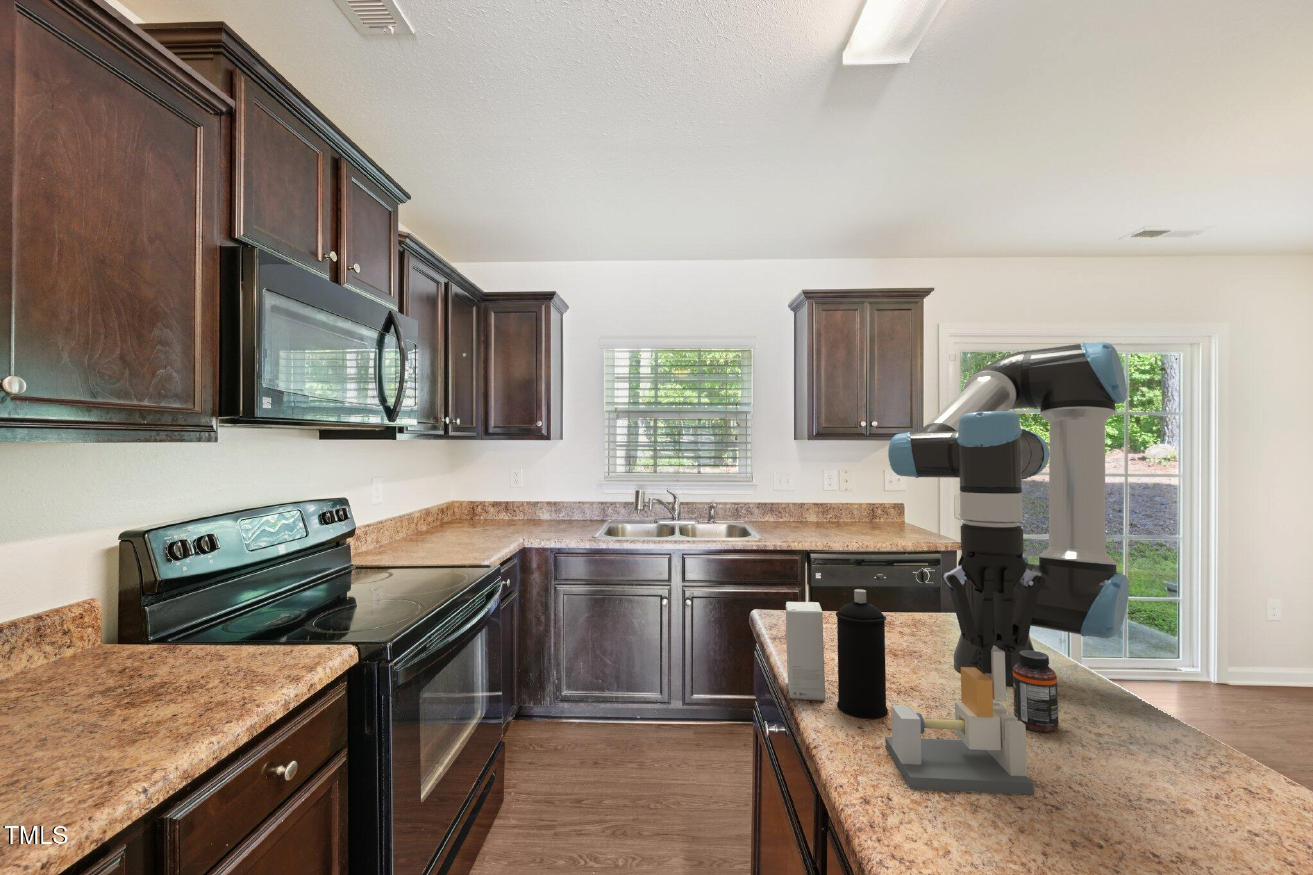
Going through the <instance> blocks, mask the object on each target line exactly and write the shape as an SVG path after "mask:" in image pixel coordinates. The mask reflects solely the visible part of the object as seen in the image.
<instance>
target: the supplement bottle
mask: <svg viewBox="0 0 1313 875" xmlns="http://www.w3.org/2000/svg"><path fill="white" fill-rule="evenodd" d="M1019 660H1020V661H1019V662H1018V663H1017V664H1016V665H1014V667H1013V685H1012V686H1013V707H1014V708H1013V712H1014V713H1013V715H1014V716H1015V717H1017V719H1018V721H1021V722H1022V723H1024V724H1025V725H1026V730H1029V731H1034V732H1039V733H1045V734H1047V733H1053V732H1055V731H1057V730H1058V729H1059V698H1058V677H1057V673H1056V671H1055V670H1054V669H1052V668H1051V667H1050V666H1049V665H1050V659H1049V655H1048V654H1046V653H1045V652H1041V651H1036V650H1035V651H1032V650H1023V651H1020V652H1019Z"/></svg>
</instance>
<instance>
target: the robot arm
mask: <svg viewBox="0 0 1313 875" xmlns="http://www.w3.org/2000/svg"><path fill="white" fill-rule="evenodd" d="M1126 381H1127V380H1126V377H1125V373H1124V368H1123V364H1122V362H1121V358H1120V356H1119V353H1118V351H1117V350H1116V348H1115V347H1114V346H1113V344H1111V343H1109V342H1106V341H1101V342H1089V343H1085V342H1080V343H1076V344H1069V345H1064V346H1063V345H1061V346H1055V347H1048V348H1039V349H1032V350H1022V351H1017V352H1013V353H1011V354H1007V355H1006V356H1003V357H1001V358H998V359H996V360H994V361H993V362H990V363H988V364H987V365H985V366H983V367H982V368H980V369H978V370H977V371H976V372H975V373H973V375H972V376H970V377H969V378H968V379H967V381H966V382H965V384H964V386H963V389H962V391H961V392H960V393H959V394H958V395H957V396H956V397H954V399H953V400H951V401H950V402H949V403H948V404H947V405H946V406H945V407H944V408H943V409H941V410H940V412H938V413H937V414H936V415H935V416H934V417H933V418H932V419H930V421H928V422H927V423H926V424H925V425H924V426H923V427H922V428H921V429H920V430H919V431H917V432H912V431H908V432H903V433H902V432H901V433H897V434H895V435H894V436H893V437H892V438H891V440H890V442H889V445H888V452H887V456H888V462H889V466H890V468H891V470H892V471H893V472H894V473H895V474H896V475H897V476H900V477H907V478H908V477H909V478H910V477H911V478H912V477H913V478H915V479H919V478H942V479H943V478H950V479H951V478H952V479H953V478H959V509H960V515H959V516H960V519H961V520H963V521H964V522H963V523H962V524H961V526H960V549H961V555H960V558H959V560H958V561H957V562H958V563H957V566H956V567H955V568H954V569H952V570H950V571H949V572H948V571H944V572H942V573H941V578H942V580H943V582H944V583H945V585H946V586H947V587H948V589H949V593H950V596H951V599H952V604H953V608H954V611H955V614H956V619H957V621H958V622H957V623H958V627H959V629H960V635H959V638H958V641H957V644H956V646H955V649H954V653H953V667H954V669H955V670H956V671H957V672H959V673H961V667H975V668H977V669H978V670H979V671H980V672H982V673H983V674H984V675H986V676H987V677H988V678H989V679H991V680H992V692H993V700H994V701H998V702H1007V689H1006V688H1007V686H1013V667H1014V665H1016V664H1017V663H1018V662H1019V661H1020V660H1019V652H1020V651H1023V650H1032V651H1036V650H1035V648H1034V645H1033V643H1032V640H1031V638H1030V637H1031V635H1030V630H1031V627H1035V628H1042V629H1045V630H1046V629H1048V630H1053V631H1058V632H1064V633H1069V634H1075V635H1080V636H1081V637H1091V638H1099V639H1111V638H1114V637H1115V636H1117V634H1118V633H1119V632H1120V630H1121V628H1122V626H1123V623H1124V620H1125V617H1126V613H1127V607H1128V601H1129V593H1130V592H1129V590H1130V589H1129V578H1128V576H1127V575H1125V574H1123V573H1121V572H1117V562H1116V561H1115V560H1114V559H1113V558H1112V557H1111V556H1109V554H1107V551H1106V543H1107V542H1106V536H1107V535H1106V423H1107V421H1108V420H1109V419H1111V418H1112V417H1113V416H1114V415H1115V414H1116V404H1117V405H1119V404H1121V403H1125V402H1126V401H1127V398H1128V397H1127V383H1126ZM1030 408H1031V409H1035V408H1036V409H1038V408H1039V409H1040V412H1039V413H1040V416H1041V417H1042V418H1043V419H1045V421H1047V422H1048V424H1049V441H1048V444H1049V446H1048V444H1047V442H1046V441H1045V440H1044V439H1043V437H1042V436H1040V435H1039V434H1037V433H1035V432H1032V431H1031V430H1027V429H1026V428H1022V427H1021V422H1020V421H1021V420H1020V416H1019V414H1018V413H1016V412H1014V411H1010V410H1017V409H1018V410H1019V409H1030ZM1048 462H1049V464H1048ZM1047 465H1049V466H1048V467H1049V468H1048V470H1049V472H1048V473H1049V474H1048V487H1049V488H1048V547H1047V548H1046V549H1045V550H1044V551H1043V552H1041V553H1040V554H1039V555H1038V556H1039V557H1038V558H1039V559H1038V564H1034V563H1029V559H1028V557H1027V555H1025V554H1024V549H1025V548H1024V528H1022V527H1021V526H1020V525H1019V524H1020V523H1022V522H1024V515H1023V513H1024V512H1023V488H1022V485H1023V484H1022V480H1027V479H1028V478H1032V477H1034V476H1036V475H1038V474H1039V473H1041V472H1042V471H1044V469H1045V468H1046V467H1047Z"/></svg>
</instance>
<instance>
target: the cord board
mask: <svg viewBox="0 0 1313 875" xmlns="http://www.w3.org/2000/svg"><path fill="white" fill-rule="evenodd" d="M890 709H891V710H890V711H891V736H885V737H884V740H885V748H886V751H887V752H888V754H889V755H890V757H891V759H892V761H893V763H895V766H896V768H898V770H899V772H900V774H901V775H902V777H903V779H904V780H905V782H906V784H907V785H908V787H909V788H910V789H911V790H921V791H922V790H925V791H942V792H943V791H945V792H962V793H963V792H966V793H983V794H984V793H989V794H1005V795H1006V794H1007V795H1011V794H1012V795H1026V796H1027V795H1029V796H1031V795H1032V796H1034V781H1032V780H1031V779H1030V778H1029V777H1028V768H1027V767H1028V766H1027V763H1028V761H1027V738H1026V737H1027V735H1026V734H1027V731H1026V730H1027V728H1026V725H1025V724H1024V723H1022V722H1021V721H1018V719H1017V717H1015V715H1014V713H1013V714H1012V713H1009V714H1008V709H1007V708H1006V707H1005V706H1003V705H1001V702H1000V701H994V700H993V711H994V712H995V713H996V714H997V715H999V716H1000V736H1001V751H1000V750H976V749H969V748H968V747H967V746H966V745H965V744H964V743H963V742H962V740H961V739H948V738H947V739H944V738H924V737H923V738H922V735H924V733H925V729H929V730H930V729H932V730H933V729H935V730H955V731H956V730H965V720H955V719H940V718H939V719H938V718H924V717H923V715H922V714H921V713H920V712H916V711H914V709H913V708H912V707H911V705H904V704H903V705H902V704H891V706H890Z"/></svg>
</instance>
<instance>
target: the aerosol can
mask: <svg viewBox="0 0 1313 875" xmlns="http://www.w3.org/2000/svg"><path fill="white" fill-rule="evenodd" d="M853 597H854V598H853V599H854V600H853V601H852V602H849V603H846V604H844V605H842V607H840V608H839V609H838V610H837V611H836V612H835V616H836V622H837V623H836V624H837V626H836V628H837V629H836V630H837V633H836V634H837V686H838V687H837V692H838V693H837V694H838V697H837V698H838V701H837V703H836V706H837V708H838V710H839V711H841V712H842V713H844V714H846V715H848V716H851V717H854V718H859V719H867V720H872V719H873V720H875V719H881V718H884V717H885V716H886V715H887V714H889V713H888V712H889V710H888V707H887V681H886V680H887V679H886V676H887V675H886V671H887V670H886V629H885V628H886V627H885V626H886V624H885V623H886V620H887V617H886V615H885V614H884V613H883V612H882V610H880V609H879V608H878V607H876V606H875V605H873V604H869V603H868V602H867V590H865V589H861V588H858V589H857V588H856V589H854V590H853Z"/></svg>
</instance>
